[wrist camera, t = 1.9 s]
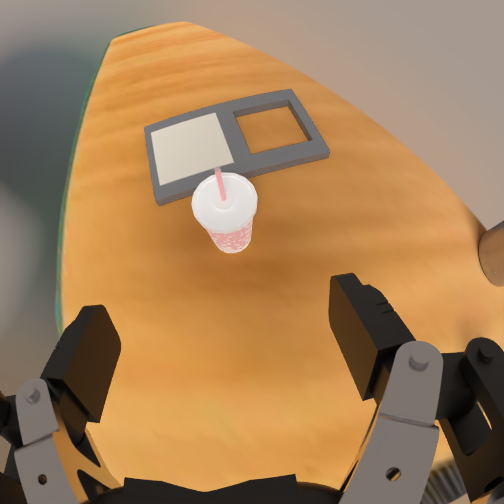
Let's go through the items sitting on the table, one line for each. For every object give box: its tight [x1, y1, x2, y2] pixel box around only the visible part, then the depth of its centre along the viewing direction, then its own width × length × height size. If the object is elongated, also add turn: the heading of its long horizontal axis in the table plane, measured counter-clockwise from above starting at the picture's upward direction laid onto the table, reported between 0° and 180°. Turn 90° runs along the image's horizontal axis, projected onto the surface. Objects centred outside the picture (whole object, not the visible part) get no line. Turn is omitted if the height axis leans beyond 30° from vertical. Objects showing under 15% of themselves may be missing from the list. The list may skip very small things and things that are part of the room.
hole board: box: [144, 89, 330, 206], centre depth 38 cm, size 24×14×2 cm, turn 108°
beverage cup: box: [191, 167, 258, 253], centre depth 28 cm, size 6×6×14 cm
